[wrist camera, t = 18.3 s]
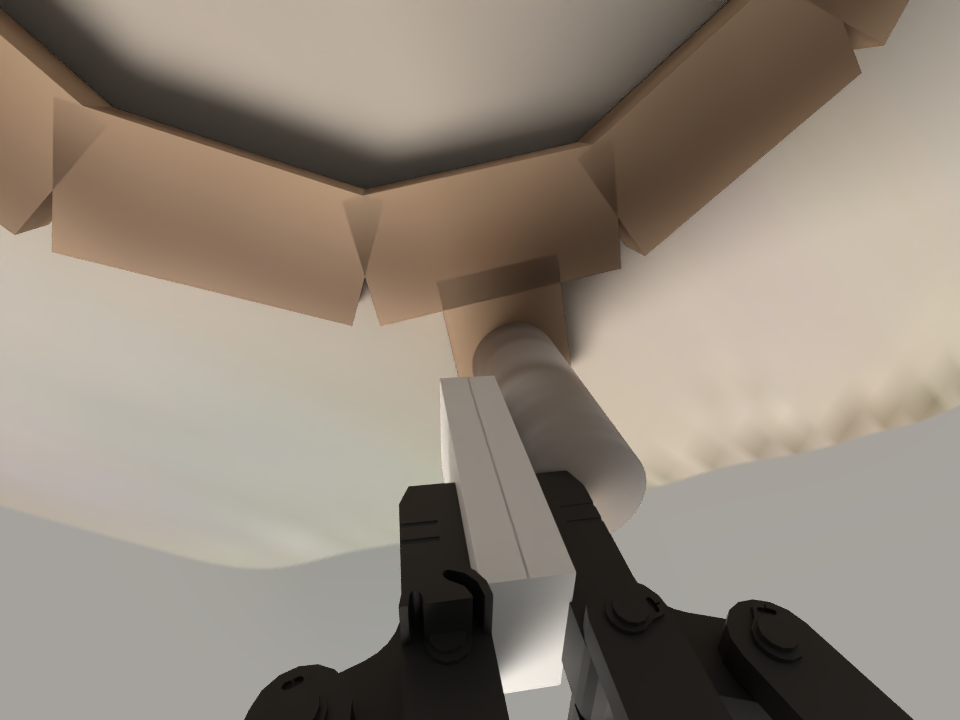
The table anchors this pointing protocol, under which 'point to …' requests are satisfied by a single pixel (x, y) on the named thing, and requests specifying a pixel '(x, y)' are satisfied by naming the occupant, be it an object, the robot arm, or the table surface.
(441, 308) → the turntable ring
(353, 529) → the table surface
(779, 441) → the table surface
